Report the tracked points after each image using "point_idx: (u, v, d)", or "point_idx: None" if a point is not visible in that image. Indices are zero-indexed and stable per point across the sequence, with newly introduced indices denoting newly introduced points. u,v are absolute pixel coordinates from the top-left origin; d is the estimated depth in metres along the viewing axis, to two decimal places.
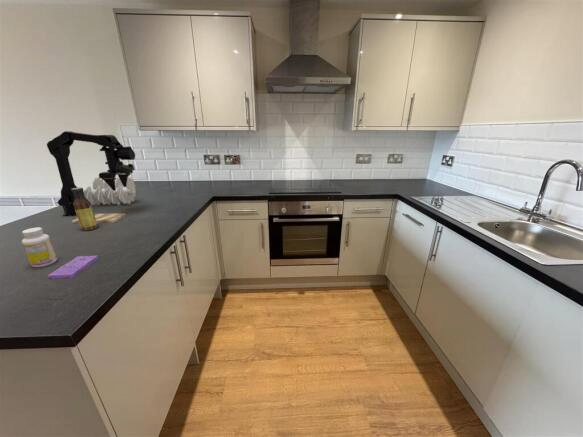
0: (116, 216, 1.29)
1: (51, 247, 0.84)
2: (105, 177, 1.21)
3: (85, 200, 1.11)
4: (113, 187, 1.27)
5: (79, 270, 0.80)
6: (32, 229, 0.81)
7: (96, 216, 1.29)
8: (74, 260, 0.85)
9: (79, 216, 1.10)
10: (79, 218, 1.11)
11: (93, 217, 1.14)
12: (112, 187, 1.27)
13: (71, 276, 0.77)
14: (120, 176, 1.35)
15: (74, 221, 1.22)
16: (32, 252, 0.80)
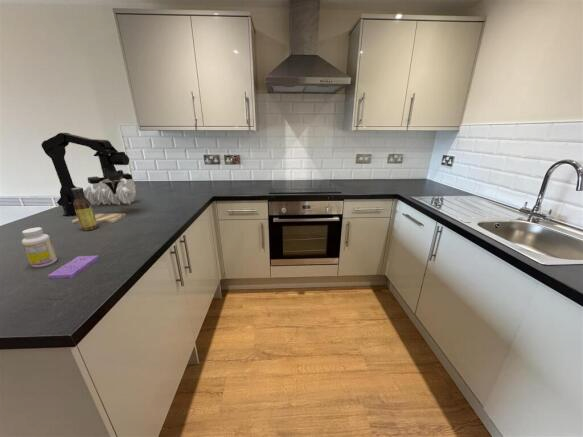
0: (116, 216, 1.29)
1: (51, 247, 0.84)
2: (89, 182, 1.22)
3: (85, 200, 1.11)
4: (112, 191, 1.30)
5: (79, 270, 0.80)
6: (32, 229, 0.81)
7: (96, 216, 1.29)
8: (74, 260, 0.85)
9: (79, 216, 1.10)
10: (79, 218, 1.11)
11: (93, 217, 1.14)
12: (112, 190, 1.30)
13: (71, 276, 0.77)
14: (112, 182, 1.31)
15: (74, 221, 1.22)
16: (32, 252, 0.80)
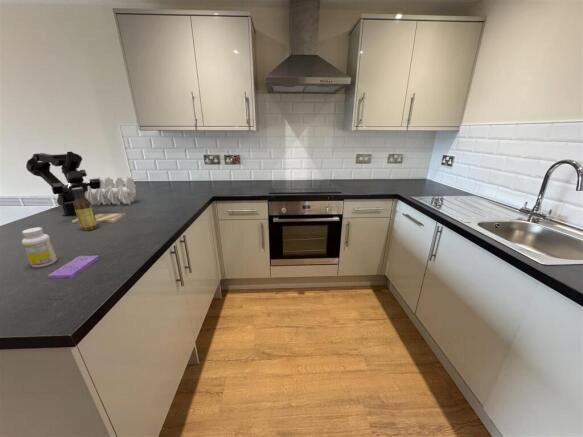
0: (116, 216, 1.29)
1: (51, 247, 0.84)
2: (52, 189, 1.15)
3: (85, 200, 1.11)
4: None
5: (79, 270, 0.80)
6: (32, 229, 0.81)
7: (96, 216, 1.29)
8: (75, 260, 0.85)
9: (79, 216, 1.10)
10: (79, 218, 1.11)
11: (93, 217, 1.14)
12: None
13: (71, 276, 0.77)
14: None
15: (74, 221, 1.22)
16: (32, 252, 0.80)
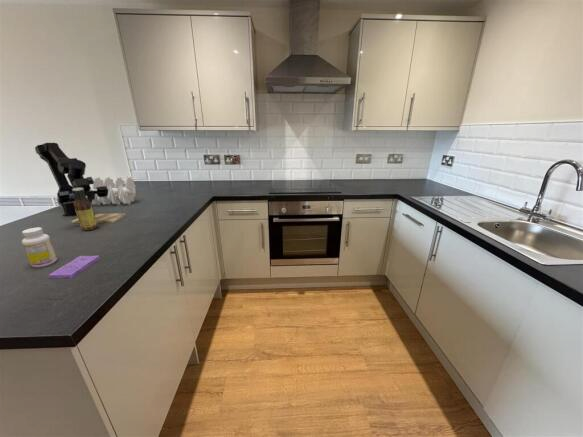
0: (116, 216, 1.29)
1: (51, 247, 0.84)
2: (58, 198, 1.09)
3: (86, 201, 1.09)
4: None
5: (79, 270, 0.80)
6: (32, 229, 0.81)
7: (96, 216, 1.29)
8: (76, 260, 0.85)
9: (79, 217, 1.09)
10: (79, 218, 1.10)
11: (93, 217, 1.13)
12: None
13: (71, 276, 0.77)
14: None
15: (74, 221, 1.22)
16: (32, 252, 0.80)
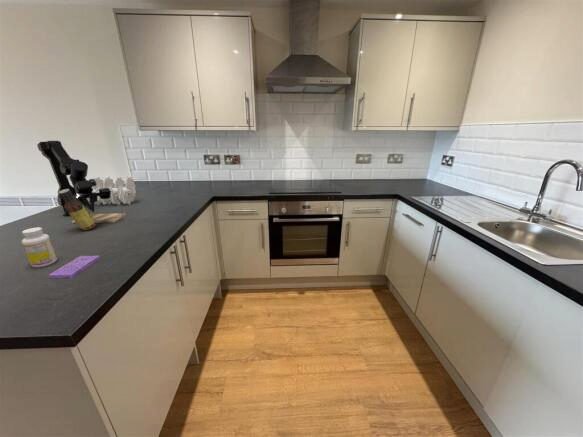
0: (116, 216, 1.29)
1: (51, 247, 0.84)
2: (60, 200, 1.06)
3: (76, 202, 1.07)
4: (89, 207, 1.12)
5: (79, 270, 0.80)
6: (32, 229, 0.81)
7: (96, 216, 1.29)
8: (76, 260, 0.85)
9: (75, 218, 1.08)
10: (75, 220, 1.09)
11: (89, 216, 1.12)
12: (89, 208, 1.12)
13: (71, 276, 0.77)
14: (90, 202, 1.15)
15: (74, 221, 1.22)
16: (32, 252, 0.80)
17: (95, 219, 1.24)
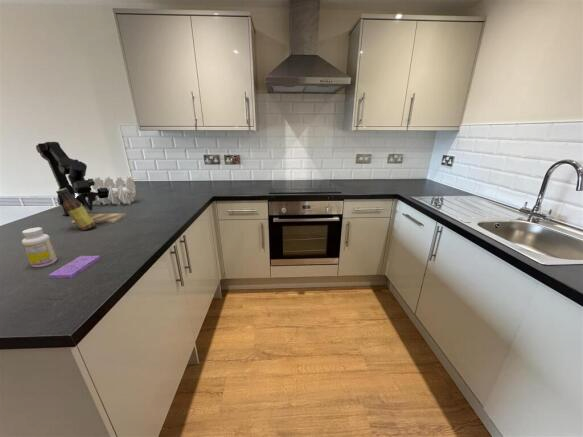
0: (116, 216, 1.29)
1: (51, 247, 0.84)
2: (59, 200, 1.08)
3: (74, 200, 1.09)
4: (87, 206, 1.13)
5: (79, 270, 0.80)
6: (32, 229, 0.81)
7: (96, 216, 1.29)
8: (76, 260, 0.85)
9: (74, 217, 1.09)
10: (74, 219, 1.10)
11: (88, 215, 1.13)
12: (87, 207, 1.14)
13: (70, 276, 0.77)
14: (88, 201, 1.16)
15: (74, 221, 1.22)
16: (32, 252, 0.80)
17: (95, 219, 1.24)
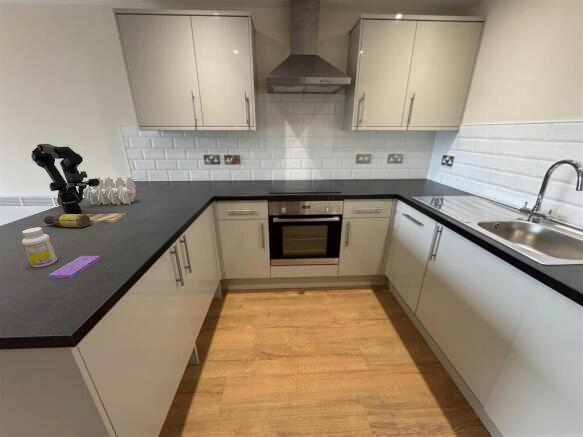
0: (116, 216, 1.29)
1: (51, 247, 0.84)
2: (50, 188, 1.14)
3: None
4: (78, 197, 1.20)
5: (79, 270, 0.80)
6: (32, 229, 0.81)
7: (96, 216, 1.29)
8: (76, 260, 0.85)
9: (65, 219, 1.14)
10: (67, 220, 1.14)
11: None
12: (78, 197, 1.21)
13: (70, 276, 0.77)
14: (78, 190, 1.23)
15: None
16: (32, 252, 0.80)
17: (95, 219, 1.24)
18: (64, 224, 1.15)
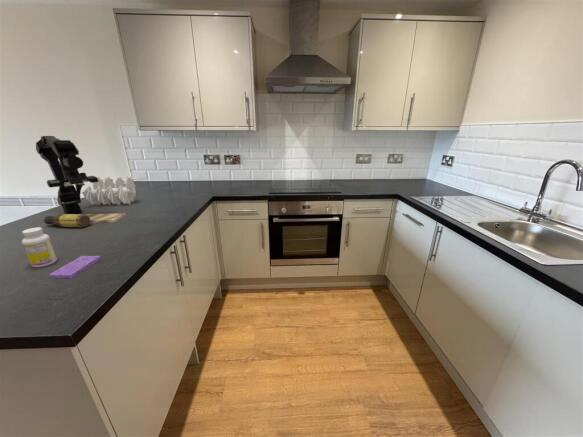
0: (116, 216, 1.29)
1: (51, 247, 0.84)
2: (48, 185, 1.13)
3: None
4: (75, 194, 1.21)
5: (79, 270, 0.80)
6: (32, 229, 0.81)
7: (96, 216, 1.29)
8: (77, 260, 0.85)
9: (65, 219, 1.14)
10: (67, 220, 1.14)
11: None
12: (75, 194, 1.22)
13: (70, 276, 0.77)
14: (76, 185, 1.22)
15: None
16: (32, 252, 0.80)
17: (95, 219, 1.24)
18: (64, 224, 1.15)
